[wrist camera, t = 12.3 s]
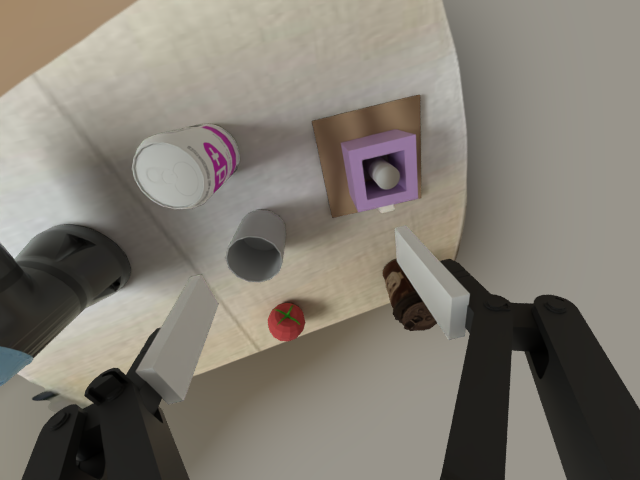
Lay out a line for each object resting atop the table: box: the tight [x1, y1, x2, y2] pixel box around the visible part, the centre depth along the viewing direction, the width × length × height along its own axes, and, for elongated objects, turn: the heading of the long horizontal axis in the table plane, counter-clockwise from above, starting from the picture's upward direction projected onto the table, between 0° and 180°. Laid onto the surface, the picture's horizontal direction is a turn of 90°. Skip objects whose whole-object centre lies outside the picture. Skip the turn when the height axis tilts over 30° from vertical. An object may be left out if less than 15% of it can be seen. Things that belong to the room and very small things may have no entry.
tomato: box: [268, 303, 305, 341], centre depth 52 cm, size 8×8×8 cm
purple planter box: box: [341, 129, 418, 213], centre depth 36 cm, size 10×8×8 cm
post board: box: [312, 95, 421, 218], centre depth 36 cm, size 16×16×10 cm
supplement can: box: [132, 124, 240, 209], centre depth 32 cm, size 8×8×15 cm
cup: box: [226, 210, 286, 282], centre depth 41 cm, size 8×8×10 cm
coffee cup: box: [383, 259, 437, 331], centre depth 47 cm, size 9×8×13 cm
